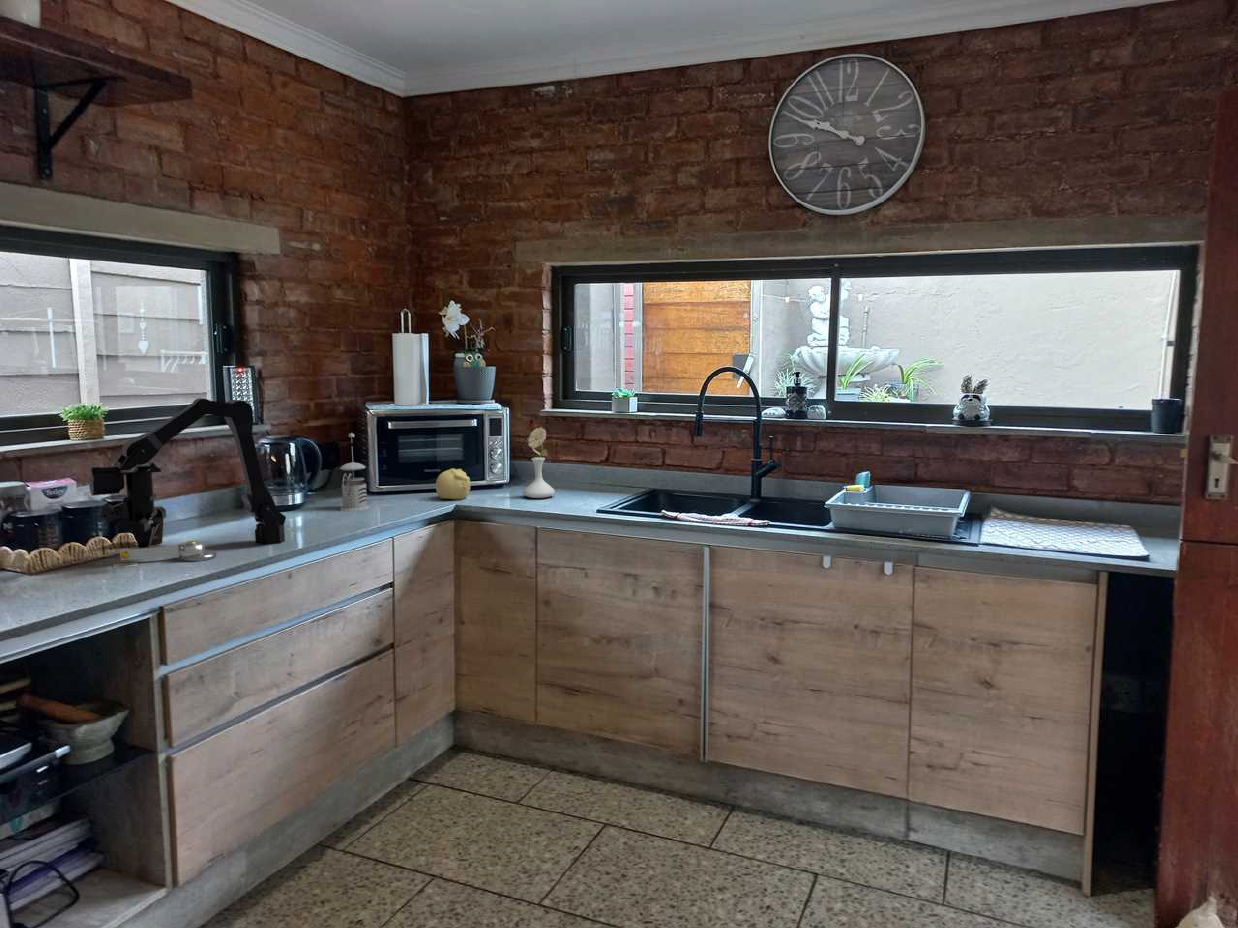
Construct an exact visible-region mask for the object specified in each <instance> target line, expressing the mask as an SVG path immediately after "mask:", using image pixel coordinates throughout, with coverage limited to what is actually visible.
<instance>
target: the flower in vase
mask: <svg viewBox="0 0 1238 928" xmlns="http://www.w3.org/2000/svg"><path fill="white" fill-rule="evenodd" d="M546 436H547V431H546V430H545V428H543V427H541V426H540V427H539V428H538V427H537V428H535V429H533V431H532V432H530V435H529V436H528V446H529V447H530V448H531V449H532V451H533V452H534V453H536V454H537V455H539V457H532V458H530V459H531V461H532V462H533V466H534V473H535V477H534V480H533V481H532V482H531V483H530V484H528V485H527V486H526V487H525V488H524V490H523V491H522V494H523V496H525V497H527V498H532V499H537V498H538V499H542V498H543V499H545V498H549V497H552V496H554V495H555V493H556V491H555V489H554V488H553V486H551V485H549V484H548V483H547V482H546V481H545V480H544V479H543V475H542V473H543V471H542V470H543V465H544V461H546V458H545V456H549V454H548V452H547V449H546V448H545V449H544V447H543V446H544V445H543V443H544V442H545V440H546V439H547V437H546ZM539 447H541V452H539V451H537V450H536V448H539ZM541 456H542V457H541Z"/></svg>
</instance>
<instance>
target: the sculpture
mask: <svg viewBox="0 0 1238 928" xmlns="http://www.w3.org/2000/svg"><path fill="white" fill-rule="evenodd" d="M435 482H436V483H435V489H436V493H437V496H439V498H440V499H446V500H463V499H465V498H466V497H468V495H469V493H470V490H471V489H472V488H471V485H472V483H471V479H470V477H469V476H467V472H465V471H463V470H462V468H457V469H456V468H454V467H453V468H450V469H447V470H445V471H443V472H441V473H440V474H439V475H438V477H437V478H436V481H435Z"/></svg>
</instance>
